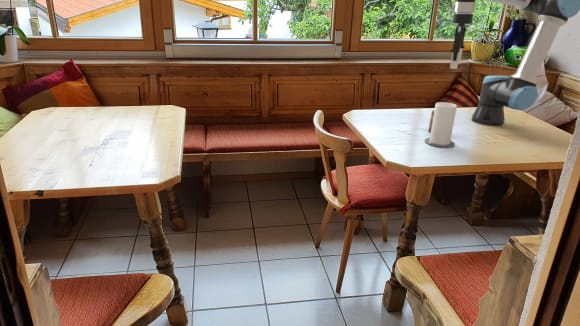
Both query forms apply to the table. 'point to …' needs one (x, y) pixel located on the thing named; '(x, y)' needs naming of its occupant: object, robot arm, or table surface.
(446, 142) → the cup
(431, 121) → the pepper mill
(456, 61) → the robot arm
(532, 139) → the table surface
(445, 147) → the coaster
